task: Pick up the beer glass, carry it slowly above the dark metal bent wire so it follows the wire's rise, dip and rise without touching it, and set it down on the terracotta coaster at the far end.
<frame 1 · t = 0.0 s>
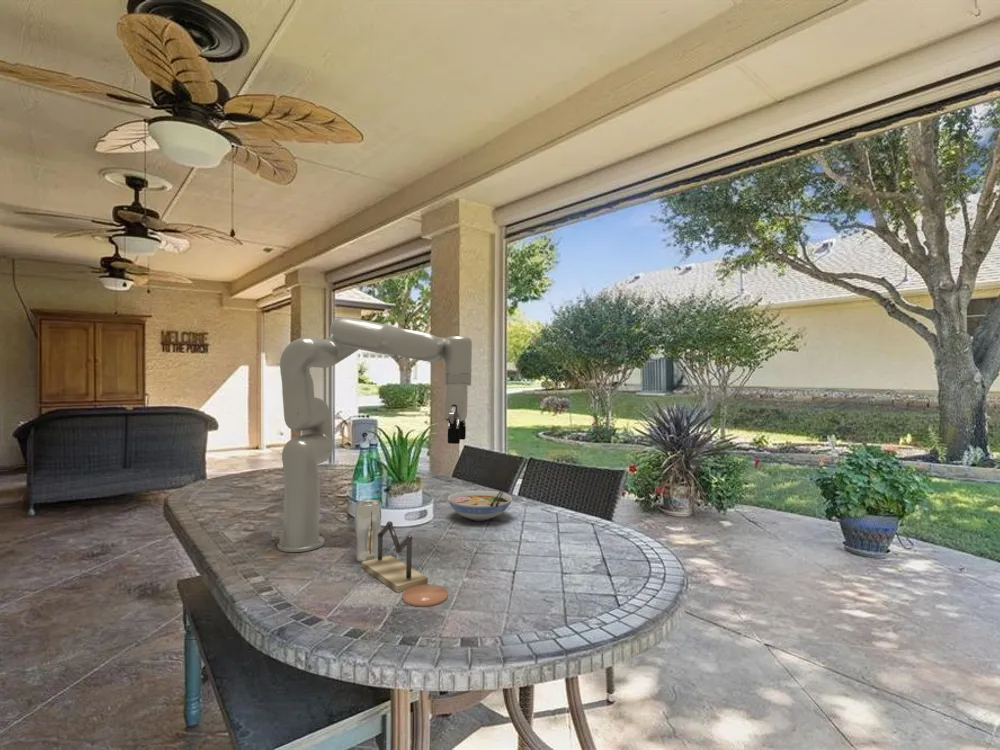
hand: (456, 441, 140), 31 cm above the table, tool pointing down, fingers open, 9 cm apart
terracotta coaster: (425, 596, 111), on the table
bent wire: (394, 545, 123), point 7 cm above the table, hinge at 0.0°
ramen bowl: (479, 519, 175), on the table
beer glass: (367, 559, 134), on the table
wire board: (393, 575, 123), on the table
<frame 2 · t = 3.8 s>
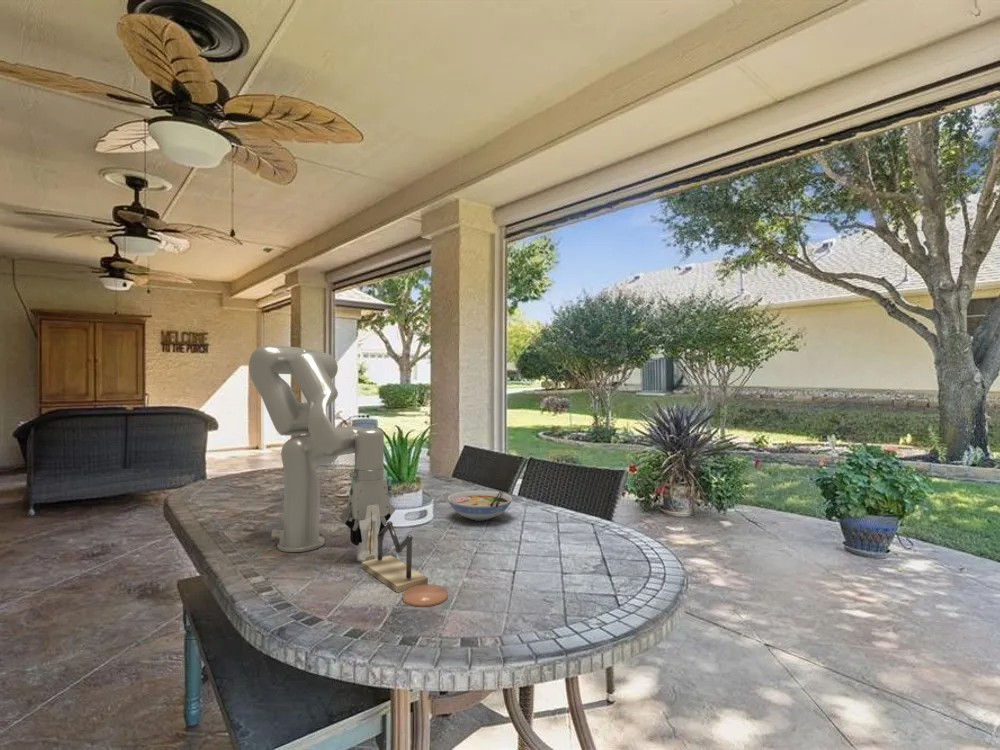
hand: (367, 540, 134), 5 cm above the table, tool pointing down, fingers closed on beer glass, 6 cm apart
beer glass: (367, 559, 134), on the table, touching gripper
everything else where it was.
when the fingers open (6 cm above the table, at t = 14.3 s): beer glass drops 1 cm, resting on terracotta coaster.
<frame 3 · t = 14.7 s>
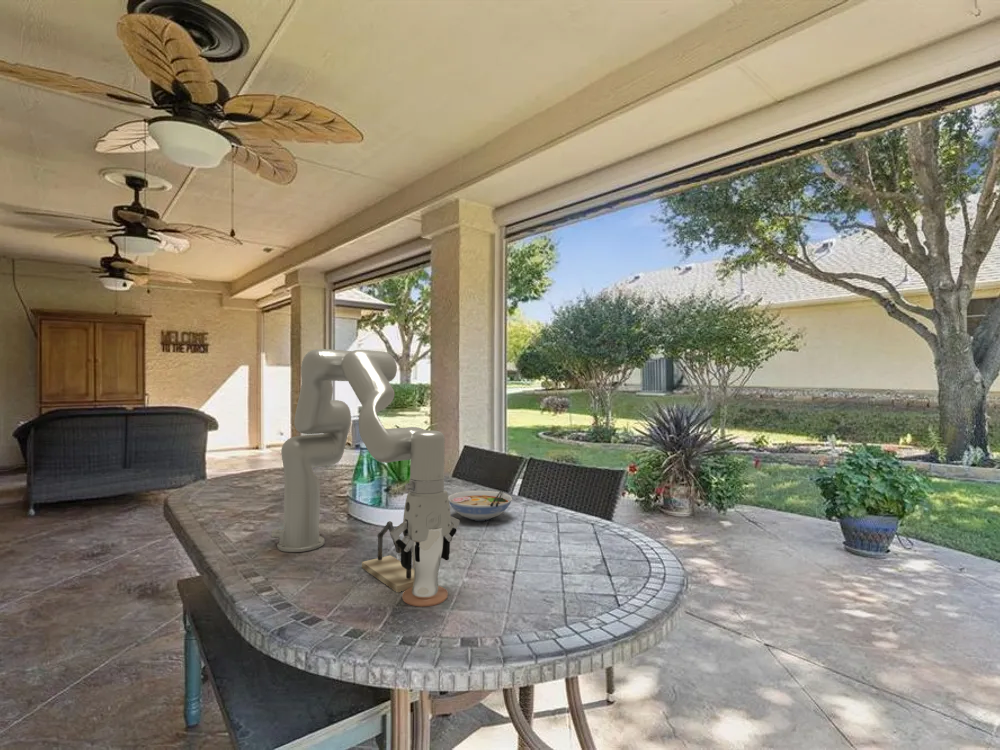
hand: (425, 563, 111), 7 cm above the table, tool pointing down, fingers open, 9 cm apart
beer glass: (424, 594, 111), point 1 cm above the table, touching terracotta coaster
everything else where it was.
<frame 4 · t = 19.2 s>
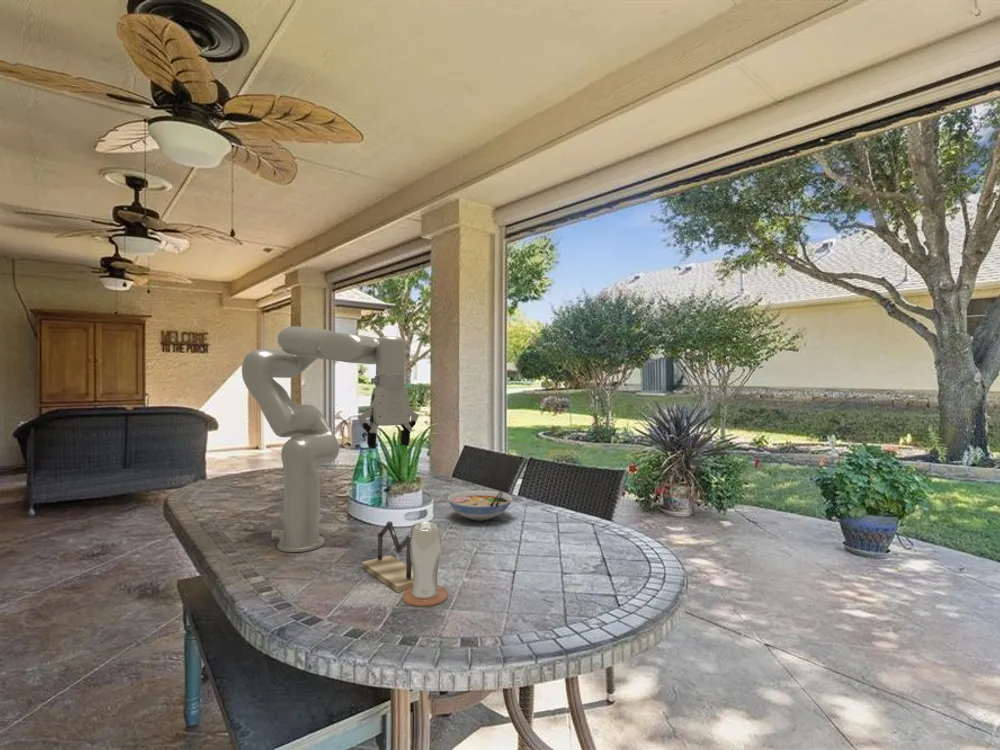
hand: (388, 446, 133), 30 cm above the table, tool pointing down, fingers open, 9 cm apart
nothing on the table moved.
at the end: beer glass 0.1 cm off-centre on the terracotta coaster, point 0.4 cm above the terracotta coaster's base; beer glass tilted 0°; bent wire at +0° (first picture: +0°) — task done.
